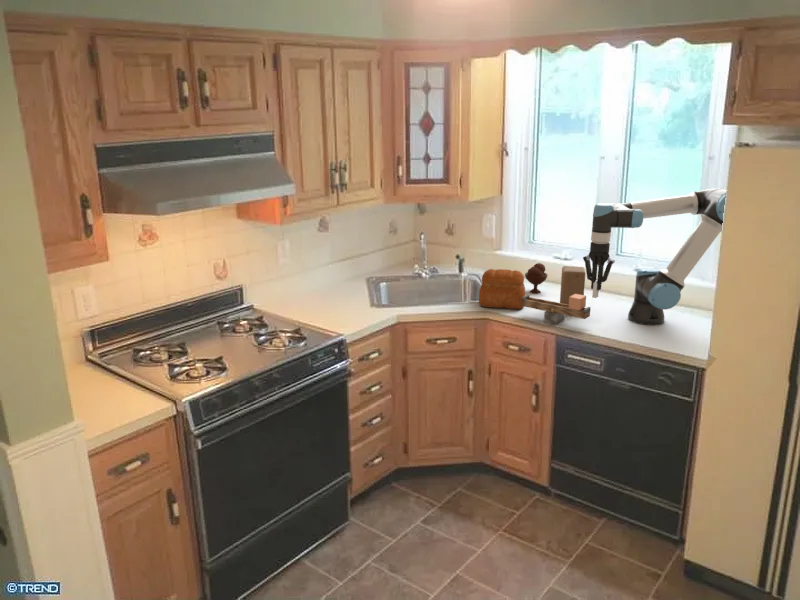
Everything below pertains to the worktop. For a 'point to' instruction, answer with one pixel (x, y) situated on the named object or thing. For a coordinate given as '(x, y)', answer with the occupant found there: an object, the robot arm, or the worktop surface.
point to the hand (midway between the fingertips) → (595, 296)
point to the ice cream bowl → (536, 276)
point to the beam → (554, 310)
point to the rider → (577, 302)
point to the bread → (502, 289)
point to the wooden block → (571, 283)
